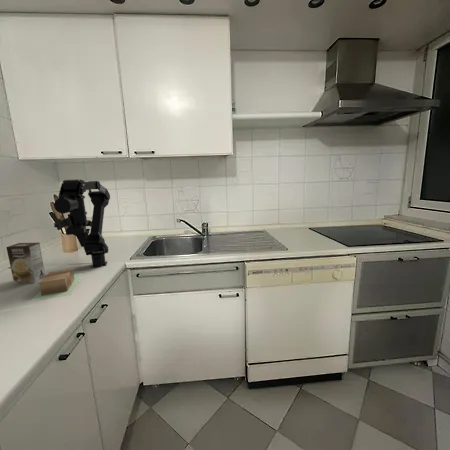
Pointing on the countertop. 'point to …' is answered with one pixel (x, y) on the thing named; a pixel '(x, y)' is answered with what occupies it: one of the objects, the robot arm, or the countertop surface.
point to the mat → (69, 292)
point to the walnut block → (56, 282)
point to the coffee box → (26, 262)
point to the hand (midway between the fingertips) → (83, 246)
